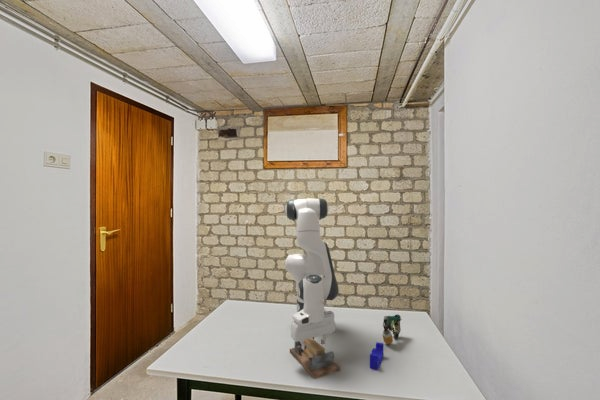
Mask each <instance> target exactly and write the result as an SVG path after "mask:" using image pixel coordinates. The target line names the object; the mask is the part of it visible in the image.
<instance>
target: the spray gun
mask: <svg viewBox="0 0 600 400" xmlns="http://www.w3.org/2000/svg"><path fill="white" fill-rule="evenodd" d="M401 320H402V318H401V315H400V314H394V315H385V316H383V324H382V327H383V332H382V338H383V342H384V343H385V344H386V345H391V344H392V343H393V341H394V340H393V338H394V339H396V340H397V339H398V338H399V337H400V336H399V335H400V334H401Z"/></svg>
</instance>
